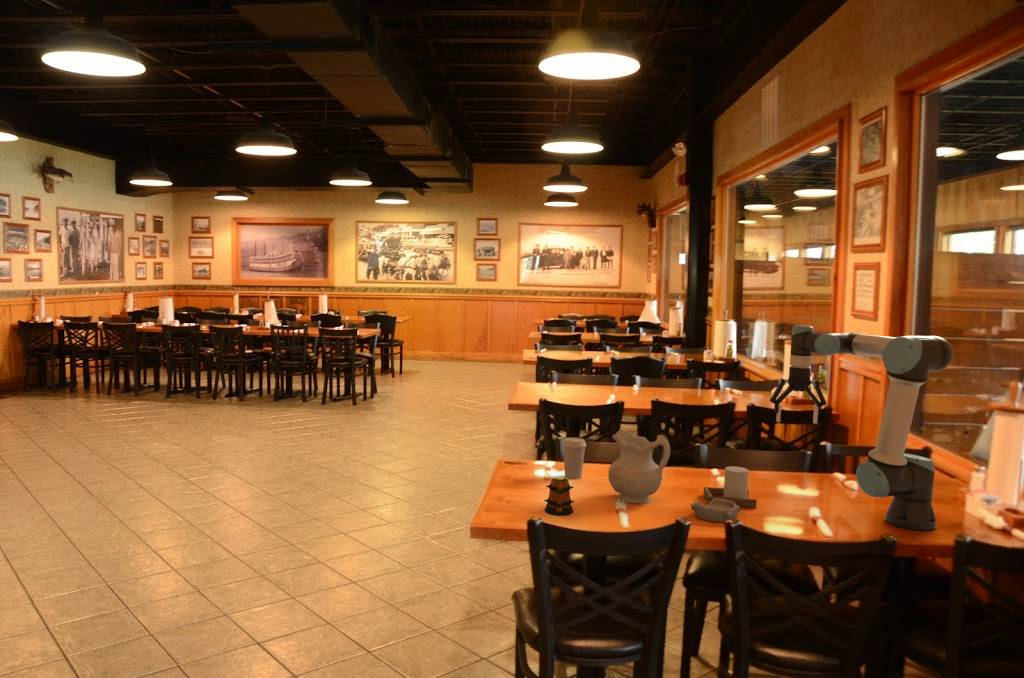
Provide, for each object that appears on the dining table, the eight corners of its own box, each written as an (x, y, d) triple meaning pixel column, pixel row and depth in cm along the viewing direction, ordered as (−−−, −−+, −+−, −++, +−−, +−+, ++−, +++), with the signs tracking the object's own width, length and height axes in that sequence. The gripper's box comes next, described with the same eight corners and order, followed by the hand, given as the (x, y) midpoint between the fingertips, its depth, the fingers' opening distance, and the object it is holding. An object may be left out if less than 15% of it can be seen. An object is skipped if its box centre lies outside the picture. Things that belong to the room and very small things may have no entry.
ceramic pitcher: (670, 498, 286) (673, 431, 285) (666, 510, 267) (669, 437, 267) (611, 492, 292) (614, 426, 291) (603, 503, 273) (606, 432, 272)
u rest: (756, 508, 273) (756, 500, 273) (709, 506, 275) (710, 497, 274) (747, 497, 287) (747, 489, 286) (703, 495, 288) (703, 487, 288)
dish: (686, 516, 263) (687, 502, 262) (708, 508, 272) (709, 494, 272) (724, 527, 252) (725, 512, 252) (746, 518, 262) (747, 504, 262)
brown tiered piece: (543, 506, 269) (545, 473, 268) (573, 507, 268) (574, 474, 267) (543, 518, 256) (544, 484, 255) (574, 519, 255) (576, 485, 254)
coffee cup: (556, 475, 310) (558, 437, 308) (577, 473, 314) (579, 436, 312) (568, 481, 301) (569, 443, 300) (589, 479, 305) (591, 441, 304)
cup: (721, 498, 285) (723, 465, 284) (744, 499, 284) (746, 467, 283) (725, 504, 277) (727, 471, 276) (748, 506, 276) (750, 472, 275)
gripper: (831, 366, 294) (827, 421, 296) (763, 364, 296) (760, 419, 298) (837, 369, 287) (833, 425, 289) (768, 366, 288) (765, 422, 290)
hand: (796, 422), depth 293 cm, fingers open, 13 cm apart
